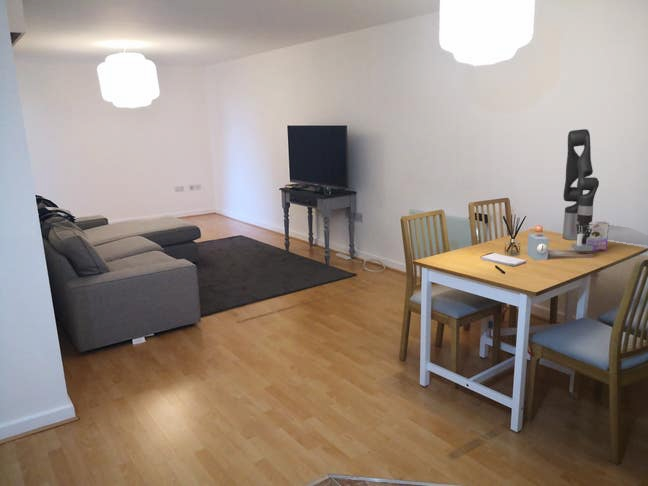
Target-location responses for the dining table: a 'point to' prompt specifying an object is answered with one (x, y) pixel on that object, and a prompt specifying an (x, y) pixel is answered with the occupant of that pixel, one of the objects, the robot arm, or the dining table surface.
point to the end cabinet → (537, 246)
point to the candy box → (598, 235)
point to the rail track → (569, 254)
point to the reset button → (538, 228)
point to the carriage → (580, 246)
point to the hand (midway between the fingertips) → (582, 243)
